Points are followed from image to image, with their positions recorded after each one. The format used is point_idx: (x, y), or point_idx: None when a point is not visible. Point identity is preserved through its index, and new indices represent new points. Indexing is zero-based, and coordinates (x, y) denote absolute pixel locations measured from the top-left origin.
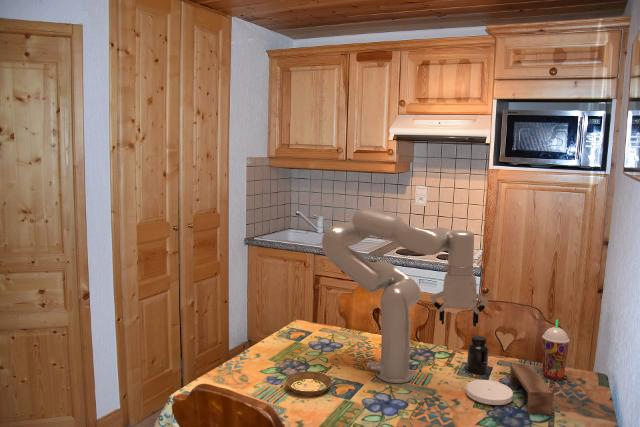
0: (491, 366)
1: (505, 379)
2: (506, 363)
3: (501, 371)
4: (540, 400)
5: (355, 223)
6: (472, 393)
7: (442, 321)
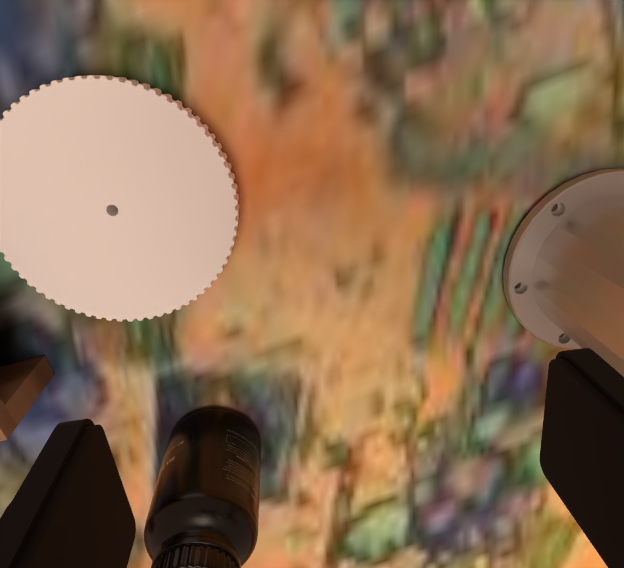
0: None
1: (79, 406)
2: None
3: None
4: None
5: None
6: (191, 124)
7: (601, 368)
